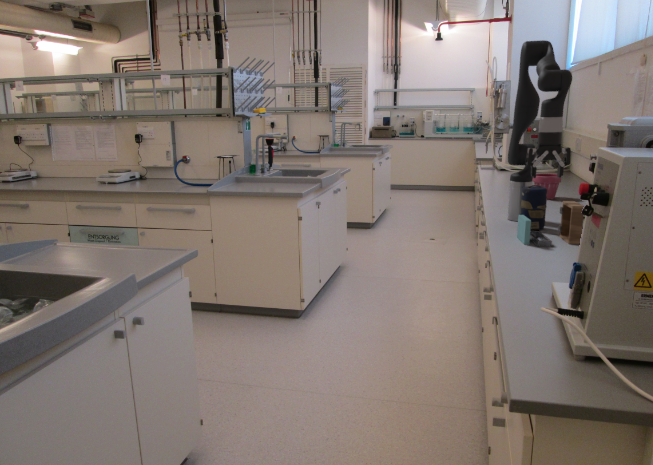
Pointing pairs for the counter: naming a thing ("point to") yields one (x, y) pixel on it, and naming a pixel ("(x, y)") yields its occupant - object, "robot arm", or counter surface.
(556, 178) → the plant pot
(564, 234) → the cabinet
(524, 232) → the door panel
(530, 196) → the canister
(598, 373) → the counter surface
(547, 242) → the grey rectangular frame
